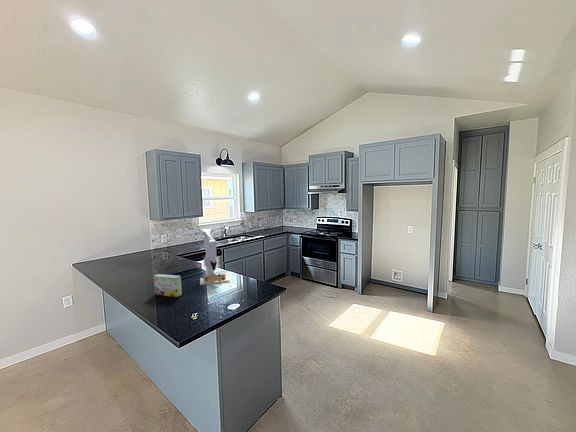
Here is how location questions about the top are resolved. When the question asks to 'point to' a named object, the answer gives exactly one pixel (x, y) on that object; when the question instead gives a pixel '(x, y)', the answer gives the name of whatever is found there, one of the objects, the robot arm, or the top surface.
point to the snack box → (167, 285)
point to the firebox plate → (214, 280)
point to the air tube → (214, 276)
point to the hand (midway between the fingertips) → (213, 268)
